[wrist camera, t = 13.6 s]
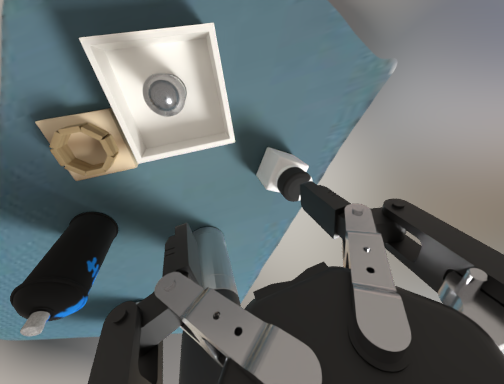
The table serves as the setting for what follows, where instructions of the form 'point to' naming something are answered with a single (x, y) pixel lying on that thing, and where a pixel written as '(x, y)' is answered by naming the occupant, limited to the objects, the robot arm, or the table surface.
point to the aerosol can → (65, 272)
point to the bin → (168, 62)
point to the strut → (164, 94)
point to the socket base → (88, 143)
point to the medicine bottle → (283, 173)
